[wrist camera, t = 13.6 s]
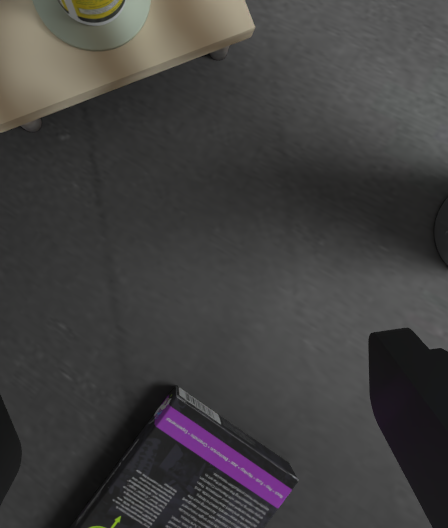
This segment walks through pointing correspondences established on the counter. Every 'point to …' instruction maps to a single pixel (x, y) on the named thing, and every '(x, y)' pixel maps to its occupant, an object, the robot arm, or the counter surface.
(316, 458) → the counter surface
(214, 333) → the counter surface
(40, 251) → the counter surface
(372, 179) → the counter surface
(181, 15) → the shelf stand
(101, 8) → the supplement bottle
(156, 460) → the box
